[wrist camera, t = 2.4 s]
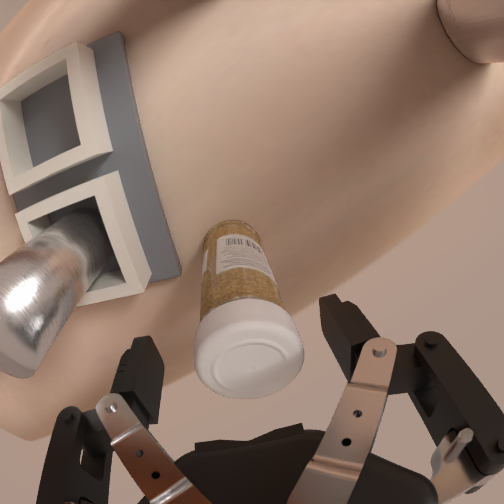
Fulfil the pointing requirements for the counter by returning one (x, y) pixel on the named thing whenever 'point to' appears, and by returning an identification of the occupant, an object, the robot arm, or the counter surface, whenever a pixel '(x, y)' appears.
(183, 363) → the counter surface
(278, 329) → the sprinkles bottle
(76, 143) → the grey and white holder
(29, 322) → the cylinder
